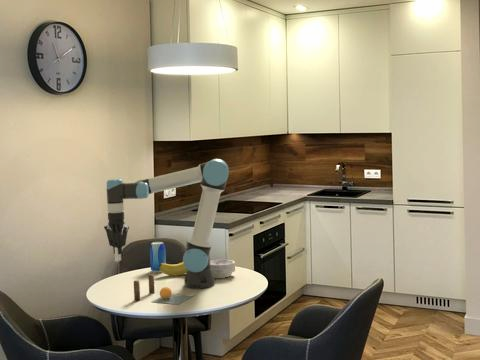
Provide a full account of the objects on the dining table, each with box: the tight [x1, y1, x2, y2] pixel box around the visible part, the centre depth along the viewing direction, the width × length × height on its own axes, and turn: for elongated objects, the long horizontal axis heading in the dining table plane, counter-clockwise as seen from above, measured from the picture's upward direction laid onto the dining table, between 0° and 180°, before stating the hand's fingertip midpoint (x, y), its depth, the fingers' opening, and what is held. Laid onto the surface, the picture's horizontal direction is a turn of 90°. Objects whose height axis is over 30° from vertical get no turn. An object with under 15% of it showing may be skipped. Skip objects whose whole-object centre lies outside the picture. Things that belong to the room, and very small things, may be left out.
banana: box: [159, 261, 187, 277], centre depth 323 cm, size 23×6×20 cm, turn 106°
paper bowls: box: [210, 259, 236, 279], centre depth 317 cm, size 15×15×8 cm
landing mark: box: [151, 293, 194, 306], centre depth 277 cm, size 14×14×1 cm
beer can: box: [149, 241, 167, 274], centre depth 333 cm, size 8×8×16 cm
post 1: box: [133, 279, 141, 302], centre depth 277 cm, size 3×3×9 cm
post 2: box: [147, 273, 156, 295], centre depth 288 cm, size 3×3×9 cm
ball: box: [159, 286, 173, 299], centre depth 278 cm, size 6×6×6 cm
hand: (118, 260), depth 287 cm, fingers closed
